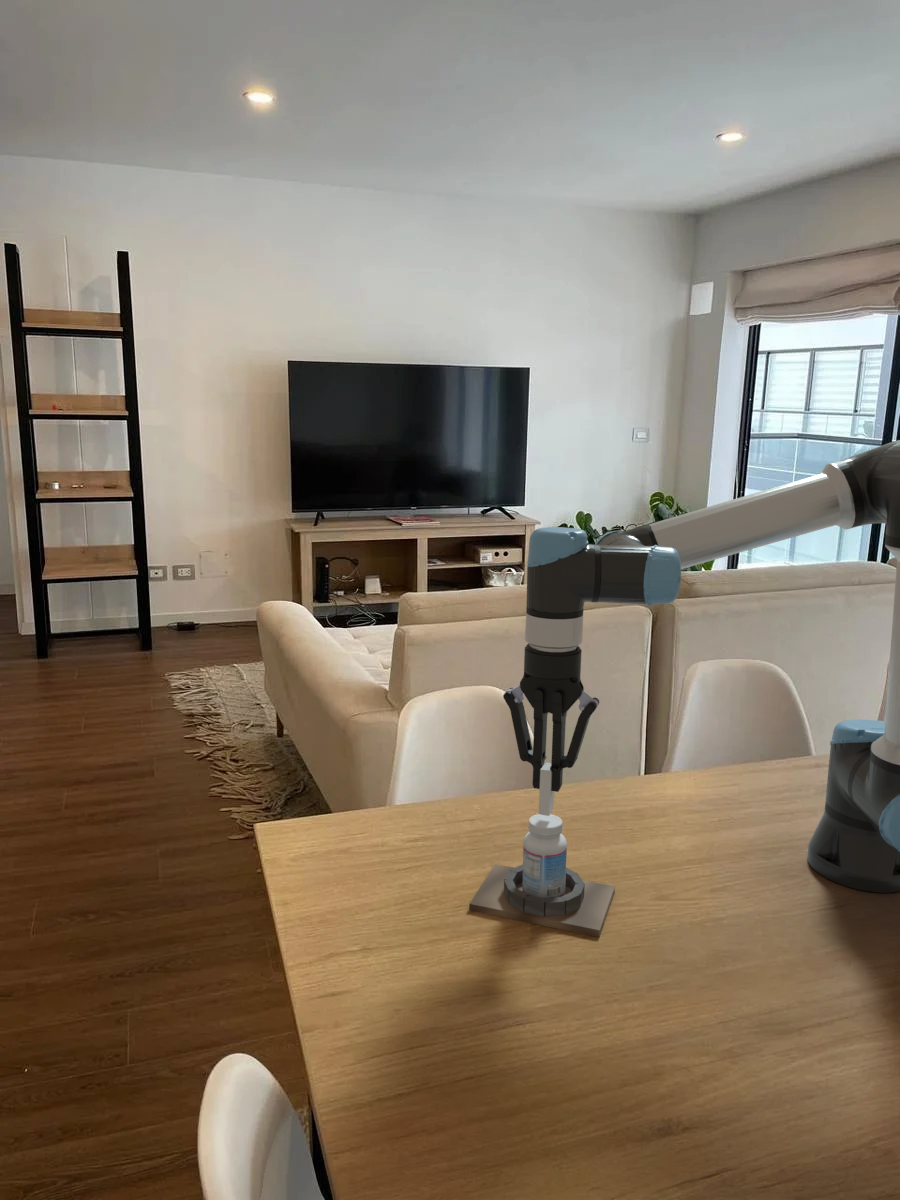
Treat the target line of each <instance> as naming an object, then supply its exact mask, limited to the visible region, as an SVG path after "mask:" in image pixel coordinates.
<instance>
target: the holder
mask: <svg viewBox="0 0 900 1200" xmlns="http://www.w3.org/2000/svg"><path fill="white" fill-rule="evenodd" d="M522 887H523V863H522V864H520V865H518V866H516V867H514V866H507V865H502V864H496V863H494V864H493V866H492V867H491V869H490V871H489V873H488V874H487V876H486V877H485V878H484V880H483V882H482V883H481V885H480V886H479V888H478V889H477V891H476V893H475V894H474V896H473V897H472V899H471V901H470V902H469V907H468V909H469V910H468V911H470V912H475V913H480V914H486V915H490V916H496V917H499V918H505V919H510V920H515V921H519V922H524V923H528V924H529V923H530V924H534V925H539V926H544V927H547V928H548V927H549V928H554V929H558V930H562V931H567V932H572V933H578V934H581V935H582V934H583V935H587V936H592V937H597V938H600V937H601V934H602V931H603V929H604V925H605V922H606V920H607V916H608V913H609V910H610V908H611V905H612V901H613V899H614V895H615V894H616V893H615V891H616V886H615V885H610V884H605V883H599V882H593V881H588V880H583V879H582V877H581V876H580V874H579V873H577V872H576V871H574V870H572V869H570V868H568V867H566V884H565V895H564V896H562V897H554V898H541V897H536V896H531V895H528V894H526V893H524V892H523V890H522V889H523V888H522Z"/></svg>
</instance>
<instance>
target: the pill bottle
mask: <svg viewBox="0 0 900 1200" xmlns="http://www.w3.org/2000/svg"><path fill="white" fill-rule="evenodd" d="M562 831H563V820H562V819H561V817H559V816H557V815H555V814H552V813H551V814H550V815H549V816H546V815H540V814H539V813H535V814H534V815H532V816H530V817H529V818H528V832H527V833H526V834H525V836H524V837H523V841H522V864H523V887H522V888H523V889H522V890H523V892H524V893H526V894H528V895H531V896H536V897H541V898H554V897H562V896H564V895H565V884H566V868H567V856H568V854H567V853H568V852H567V851H568V850H567V849H568V843H567V842H568V841H567V839H566V837H565V836H564V834H563V832H562Z"/></svg>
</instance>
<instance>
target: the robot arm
mask: <svg viewBox="0 0 900 1200" xmlns="http://www.w3.org/2000/svg"><path fill="white" fill-rule="evenodd" d="M874 524H885V538H884V539H885V540H884V547H885V548H886V549H887V550H888V551H889V553H891V554H892V556H893V557H895V559H896V571H895V572H896V573H895V583H894V585H895V586H894V596H893V600H894V601H893V613H892V624H891V626H892V628H891V637H890V638H891V639H890V653H889V663H888V665H889V666H888V678H887V679H888V680H887V681H888V682H887V694H886V710H885V720H877V719H848V720H843V721H839V722H837V724H836V725H835V726H834V727H833V730H832V735H831V736H832V737H831V740H830V741H829V745H830V751H829V760H828V771H827V783H826V791H825V792H826V794H825V804H824V811H823V815H822V816H821V818H820V819H819V822H818V824H817V826H816V828H815V830H814V833H813V834H812V836H811V838H810V840H809V842H808V848H807V857H806V858H807V862H808V864H809V865H810V867H811V868H812V869H813V870H814V871H816V872H817V873H818V874H819V875H821V876H823V877H824V878H826V879H828V880H830V881H831V882H834V883H837V884H839V885H843V886H845V887H849V888H850V889H851V888H852V889H856V890H860V891H864V892H872V893H884V894H885V893H896V892H897V893H899V892H900V439H899V440H894V441H891V442H888V443H886V444H883V445H880V446H877V447H874V448H872V449H868V450H866V451H863V452H860V453H857V454H855V455H851V456H849V457H847V458H843V459H840V460H836V461H833V462H830V463H827V464H825V466H824V467H823V470H822V471H821V472H820V473H818V474H815V475H812V476H809V477H805V478H802V479H798V480H795V481H792V482H788V483H784V484H781V485H778V486H775V487H772V488H768V489H764V490H761V491H758V492H754V493H751V494H748V495H745V496H740V497H737V498H734V499H730V500H728V501H724V502H719V503H716V504H713V505H711V506H707V507H704V508H700V509H696V510H692V511H690V512H686V513H682V514H679V515H676V516H673V517H669V518H666V519H663V520H660V521H659V520H658V521H655V522H653V523H649V524H646V525H643V526H639V527H635V528H632V529H628V530H626V531H625V530H618V529H617V530H613V531H609V532H606V533H605V534H603V535H601V536H600V537H599V538H598V539H597V540H596V541H595V544H594V543H589V540H588V535H587V532H586V531H585V530H584V529H580V528H575V527H565V526H564V527H563V526H562V527H561V526H559V527H558V526H552V527H551V526H548V527H540V528H537V529H534V531H533V532H532V533H531V534H530V537H529V543H528V544H529V545H528V554H527V561H526V563H527V566H526V567H527V568H526V569H527V570H526V572H527V573H526V604H525V605H526V608H525V610H526V611H525V628H524V629H525V631H524V632H525V633H524V640H525V642H526V643H527V644H526V645H525V647H524V656H523V657H524V659H523V676H522V678H521V679H520V682H519V685H516V686H515V687H510V688H509V689H507V690H506V691H505V693H504V694H503V699H504V701H505V703H506V705H507V707H508V708H509V711H510V715H511V720H512V721H511V722H512V726H513V731H514V734H515V740H516V744H517V750H518V754H519V759H520V760H521V761H522V762H528V763H530V764H531V766H532V787H533V789H538V790H539V791H538V792H539V793H538V794H539V796H538V798H539V799H538V814H540V815H546V816H549V815H550V814H552V812H553V810H554V808H555V806H554V805H555V792H557V793H559V791H560V790H561V788H562V786H563V777H564V776H563V775H564V774H563V773H564V771H563V770H564V769H565V768H568V769H571V768H572V767H574V765H575V763H576V761H577V760H578V757H579V754H580V751H581V747H582V744H583V742H584V738H585V735H586V731H587V728H588V725H589V721H590V718H591V716H592V715H593V713H594V712H595V711H596V709H597V708H598V706H599V704H600V699H598V697H592V696H590V695H589V694H588V693H586V692H585V691H584V690H585V689H584V685H583V682H582V679H581V672H582V671H581V670H582V669H581V668H582V667H581V666H582V652H583V651H582V649H581V647H580V645H581V644H582V643H583V628H584V627H583V626H584V606H585V603H609V604H633V605H634V604H637V605H638V604H639V605H647V606H652V605H665V604H666V605H667V604H673V603H674V602H675V601H676V600H677V598H678V596H679V592H680V589H681V580H682V579H681V578H682V570H684V569H687V568H690V567H694V566H698V565H701V564H704V563H708V562H711V561H714V560H715V561H716V560H719V559H722V558H725V557H729V556H733V555H736V554H739V553H743V552H746V551H750V550H753V549H757V548H760V547H763V546H767V545H772V544H774V543H778V542H781V541H785V540H789V539H792V538H795V537H799V536H802V535H806V534H810V533H813V532H816V531H819V530H823V529H824V530H825V529H827V528H830V527H831V528H832V527H834V526H837V527H838V528H839V527H840V528H841V529H843V530H851V529H853V528H854V529H855V528H857V527H861V526H865V525H874ZM524 696H525V698H526V700H527V701H528V702H529V704H530V706H531V707H532V709H533V720H534V721H533V741H532V740H531V736H530V730H529V726H528V725H529V724H528V721H527V715H526V710H525V706H524V703H523V701H524V699H525V698H524ZM578 700H579V704H578V708H579V710H580V714H579V716H578V717H577V721H576V725H575V727H574V731H573V734H572V738H571V740H570V741H571V742H570V744H569V747H568V750H567V753H566V755H565V747H566V745H565V744H566V725H567V724H566V723H567V722H566V721H567V719H566V718H567V713H568V711H569V710H570V709H571V708H572V707H573V705H574V704H575V703H576V702H577V701H578ZM548 714H552V717H551V718H552V719H551V721H552V736H551V737H552V739H551V760H550V761H551V762H545V760H546V759H547V757H548V756H547V755H546V753H547V752H546V751H547V729H548Z"/></svg>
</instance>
